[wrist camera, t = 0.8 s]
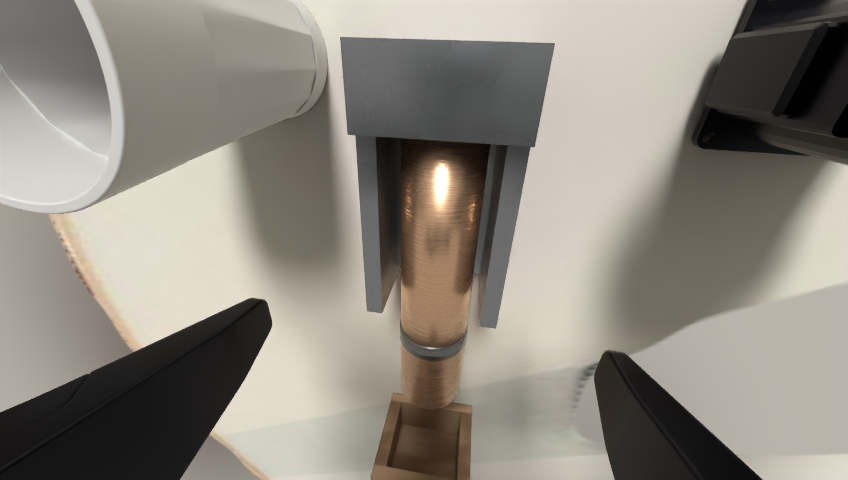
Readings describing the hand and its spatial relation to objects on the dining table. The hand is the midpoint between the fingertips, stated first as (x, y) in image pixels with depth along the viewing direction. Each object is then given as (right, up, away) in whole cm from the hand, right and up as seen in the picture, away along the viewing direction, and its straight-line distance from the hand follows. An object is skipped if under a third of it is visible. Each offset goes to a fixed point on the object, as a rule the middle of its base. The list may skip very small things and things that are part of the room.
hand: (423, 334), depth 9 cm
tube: (+1, +2, +11) cm, 11 cm away
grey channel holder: (+1, +6, +10) cm, 12 cm away
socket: (+1, -13, +21) cm, 25 cm away
